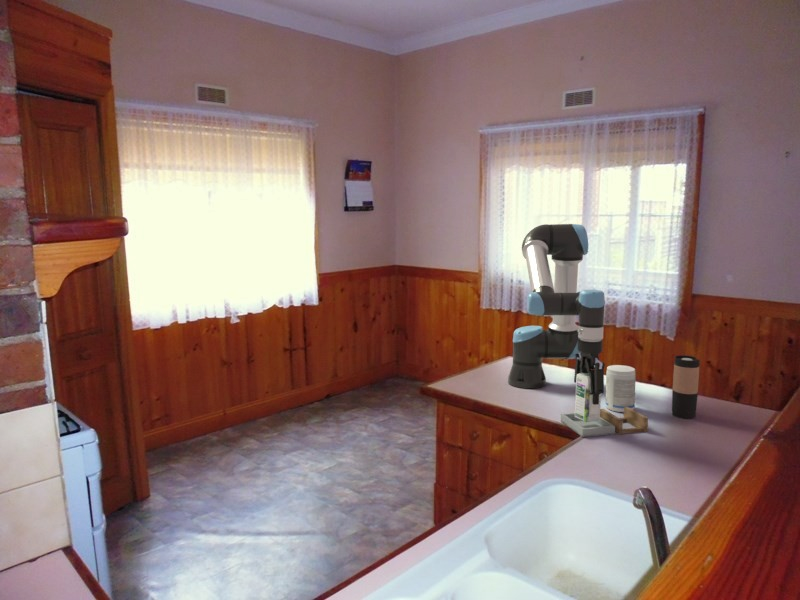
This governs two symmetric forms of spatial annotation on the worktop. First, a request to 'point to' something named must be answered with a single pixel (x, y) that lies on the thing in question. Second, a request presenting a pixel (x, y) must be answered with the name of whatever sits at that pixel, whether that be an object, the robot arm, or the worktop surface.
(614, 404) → the supplement tub
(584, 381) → the syrup box
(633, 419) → the cradle
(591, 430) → the tray
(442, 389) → the worktop surface
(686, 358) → the travel mug
